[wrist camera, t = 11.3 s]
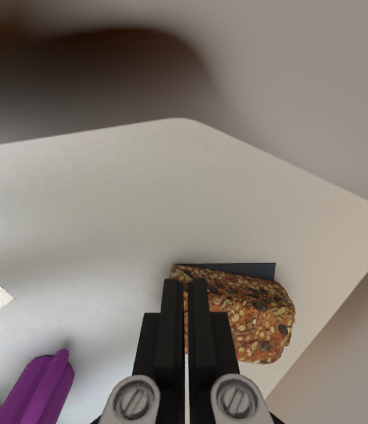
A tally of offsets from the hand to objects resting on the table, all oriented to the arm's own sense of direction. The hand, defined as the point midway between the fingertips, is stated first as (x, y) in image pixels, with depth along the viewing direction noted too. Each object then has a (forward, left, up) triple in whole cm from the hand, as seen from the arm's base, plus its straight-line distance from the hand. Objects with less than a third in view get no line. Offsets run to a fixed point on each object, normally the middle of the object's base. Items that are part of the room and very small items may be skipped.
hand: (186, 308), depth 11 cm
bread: (+21, +6, -29) cm, 36 cm away
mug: (+37, -25, -29) cm, 53 cm away
